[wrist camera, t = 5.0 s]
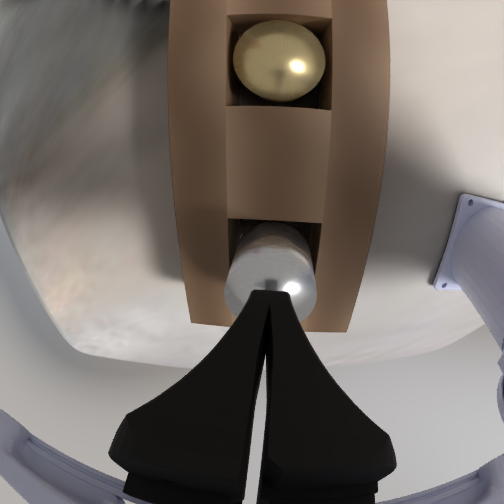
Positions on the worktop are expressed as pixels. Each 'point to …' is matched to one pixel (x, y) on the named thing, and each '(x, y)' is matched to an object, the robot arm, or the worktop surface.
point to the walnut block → (277, 148)
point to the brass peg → (279, 60)
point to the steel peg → (272, 267)
